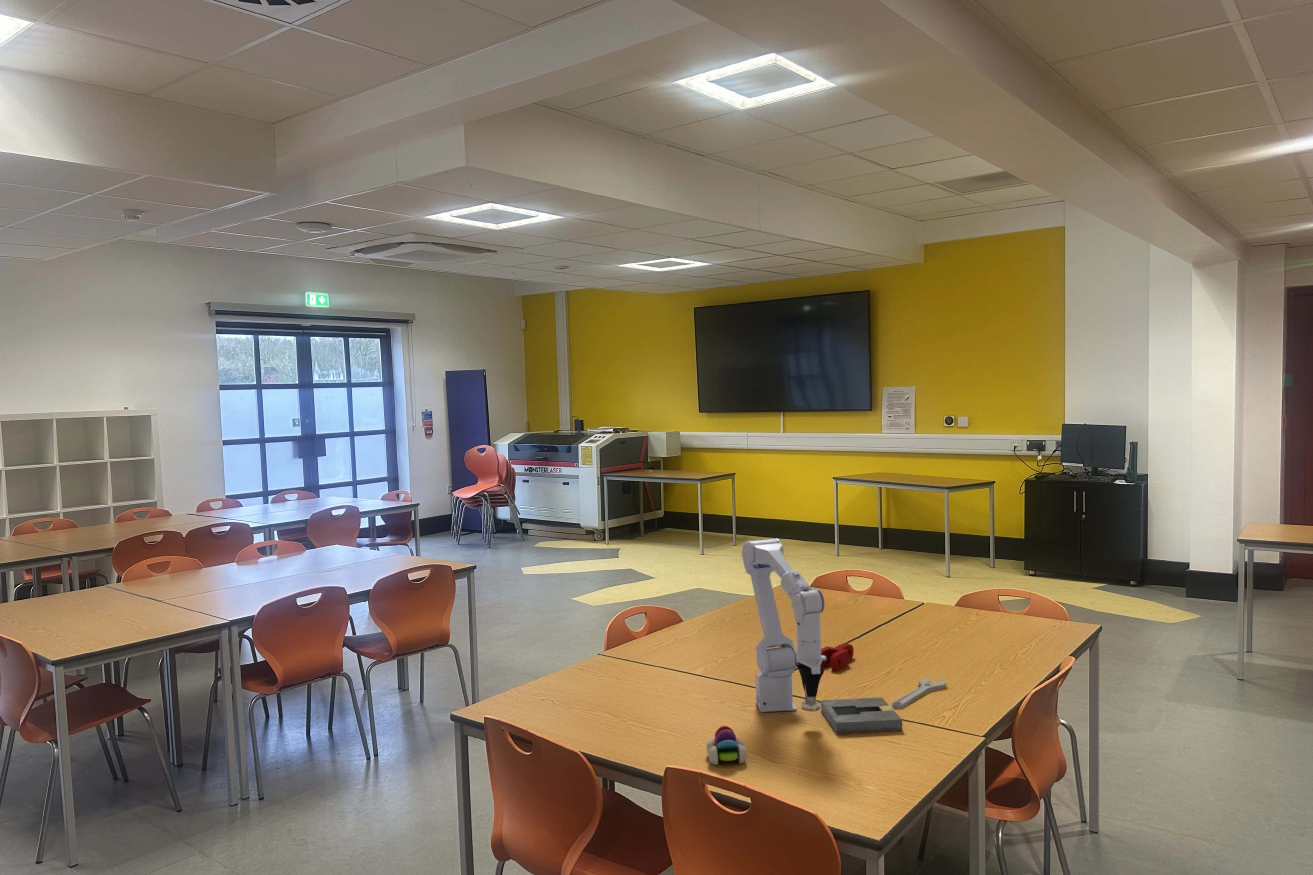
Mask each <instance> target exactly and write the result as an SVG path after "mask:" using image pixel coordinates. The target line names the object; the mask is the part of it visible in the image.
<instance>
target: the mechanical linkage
mask: <svg viewBox="0 0 1313 875" xmlns="http://www.w3.org/2000/svg"><path fill="white" fill-rule="evenodd" d="M821 655H824V656H825V657H826V660H823V661H822V662H821V665H820V668H823V669H824V668H825V667H827V666H829V667H830V669H831V670H832V671H836V672H839V671H840V670H843V669H844V668H847V667H849V662H850V661H851V660H852V659H853V657H854V646H853V645H852V644H849V643H840V644H838V645H837V646H834V647H833V646H828V645H827V646H824V647H822V648H821Z"/></svg>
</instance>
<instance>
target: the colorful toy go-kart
mask: <svg viewBox="0 0 1313 875" xmlns="http://www.w3.org/2000/svg"><path fill="white" fill-rule="evenodd" d="M706 750H707V751H706V753H707V754H708V761H709V762H710V763H711V764H713V765H715V766H718V765H719V760H720V761H723V762H724V761H725V762H731V761H736V760H738V761H737V762H738V764H743V763H745V762H746V760H747V758H748V751H747V748H746V747H745V742H744V741H743V740H742V739H741V738H739V737H737V736H736V733H735V731H734V730H733V728H731V727H729V726H727V725H722V726H720V727H718V728H717V730H716V731H715V733H714V738H712V739H709V740H708V741H707V743H706Z"/></svg>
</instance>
